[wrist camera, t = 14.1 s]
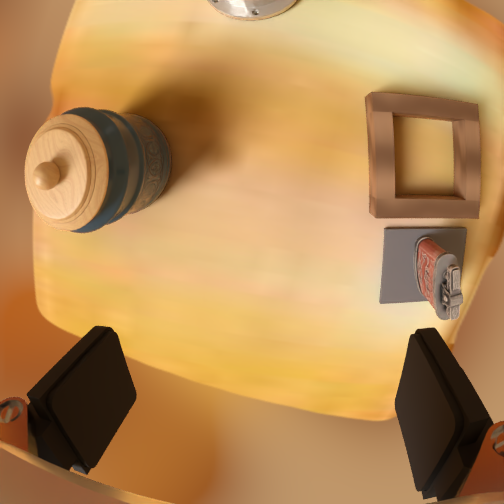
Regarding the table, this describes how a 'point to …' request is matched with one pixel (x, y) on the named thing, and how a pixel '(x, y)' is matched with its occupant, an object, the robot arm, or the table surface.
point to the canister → (95, 168)
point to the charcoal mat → (412, 260)
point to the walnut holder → (383, 157)
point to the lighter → (438, 277)
